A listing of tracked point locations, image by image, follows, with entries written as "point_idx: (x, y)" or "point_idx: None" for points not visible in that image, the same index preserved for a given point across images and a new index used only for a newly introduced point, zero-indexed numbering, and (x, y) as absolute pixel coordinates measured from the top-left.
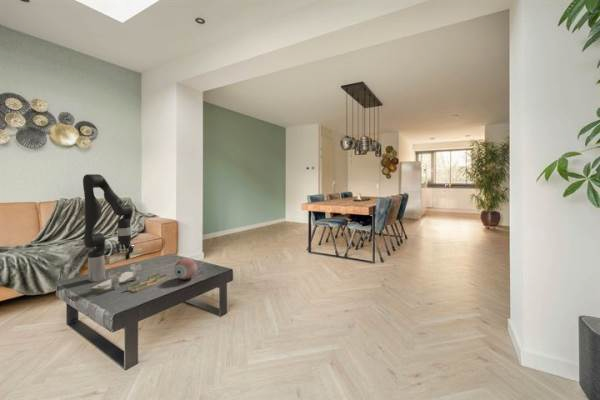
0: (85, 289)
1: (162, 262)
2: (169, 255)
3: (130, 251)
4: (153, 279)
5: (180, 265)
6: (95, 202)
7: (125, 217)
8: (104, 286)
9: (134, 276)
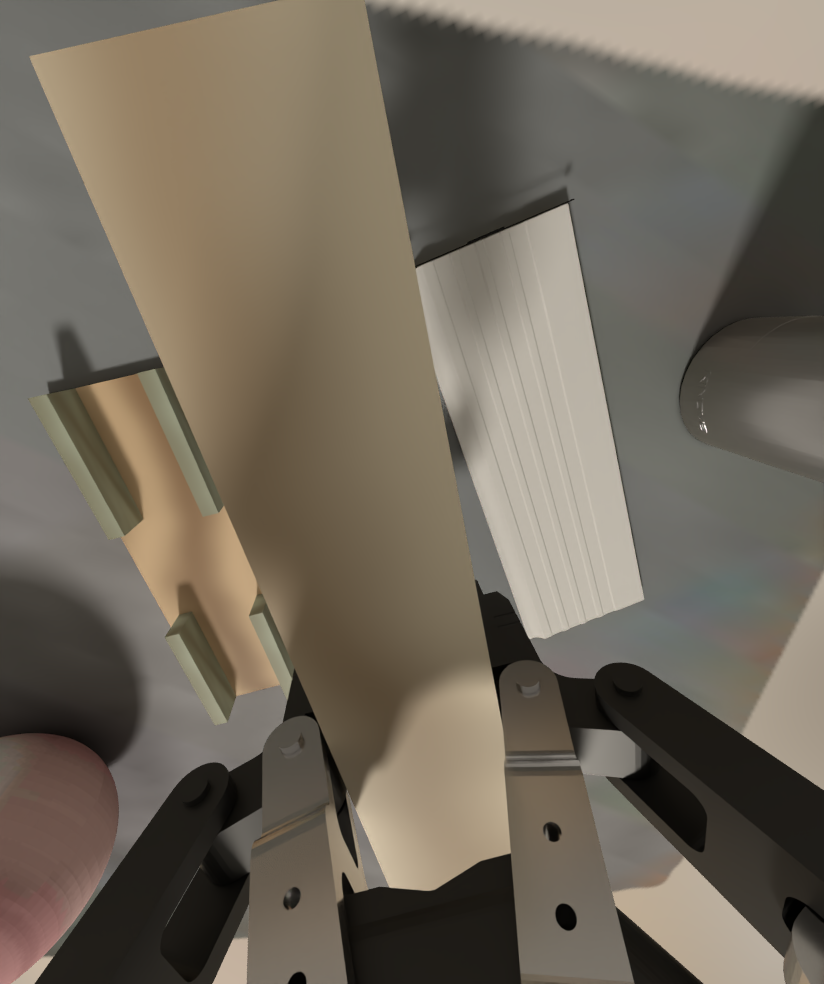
0: (606, 165)
1: None
2: (658, 879)
3: (207, 868)
4: (251, 623)
5: None
6: None
7: None
8: (475, 299)
9: None
